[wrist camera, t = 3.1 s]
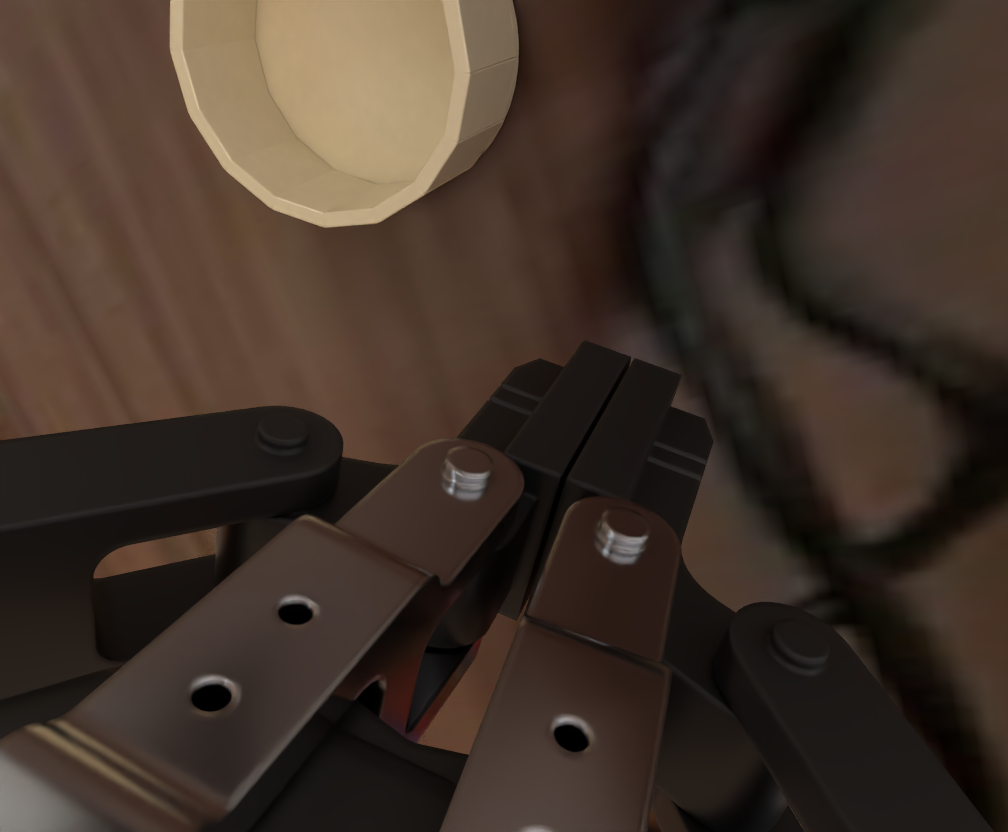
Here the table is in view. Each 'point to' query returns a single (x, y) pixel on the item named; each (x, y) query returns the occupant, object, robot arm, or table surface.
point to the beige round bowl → (345, 96)
